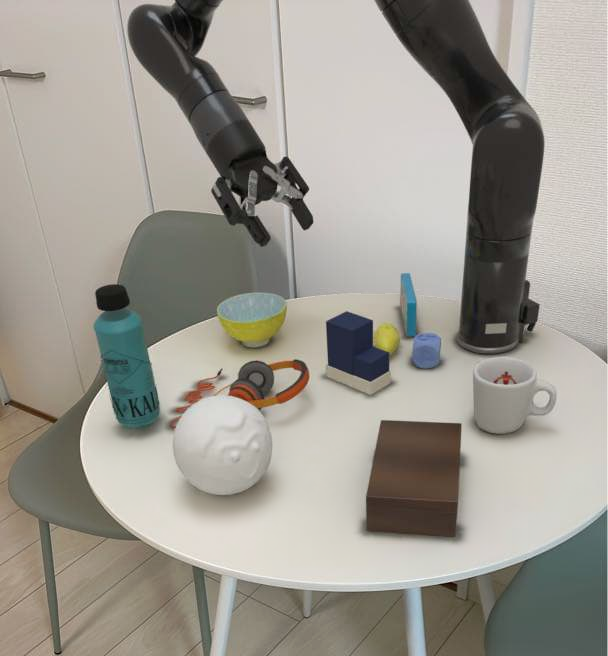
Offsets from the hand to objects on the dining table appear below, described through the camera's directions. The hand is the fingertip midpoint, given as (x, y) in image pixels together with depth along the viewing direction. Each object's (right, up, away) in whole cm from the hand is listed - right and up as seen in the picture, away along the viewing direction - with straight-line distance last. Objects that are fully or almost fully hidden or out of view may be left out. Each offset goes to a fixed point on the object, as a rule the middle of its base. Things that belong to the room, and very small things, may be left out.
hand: (288, 234), depth 108 cm
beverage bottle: (-21, -28, -1) cm, 35 cm away
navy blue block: (+10, -20, +5) cm, 23 cm away
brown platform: (+16, -38, -17) cm, 45 cm away
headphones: (-7, -24, +2) cm, 25 cm away
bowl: (-6, -11, +17) cm, 21 cm away
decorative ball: (-7, -37, -14) cm, 40 cm away
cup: (+30, -29, -7) cm, 42 cm away
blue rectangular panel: (+20, -7, +19) cm, 28 cm away
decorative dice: (+21, -17, +8) cm, 28 cm away
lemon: (+15, -14, +12) cm, 24 cm away
